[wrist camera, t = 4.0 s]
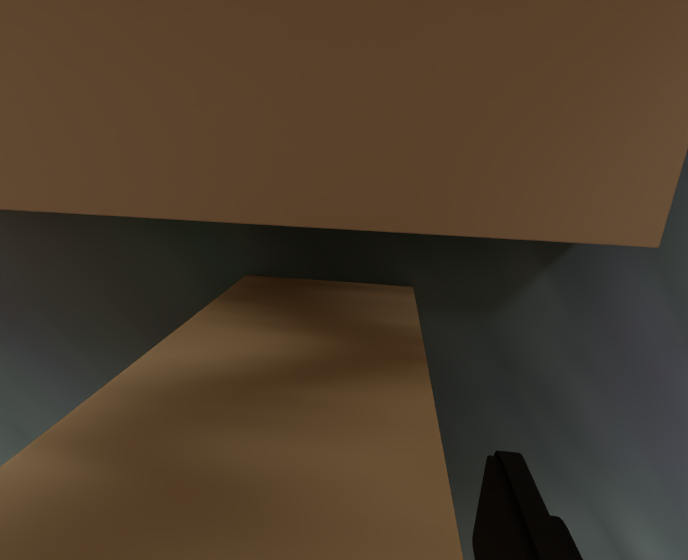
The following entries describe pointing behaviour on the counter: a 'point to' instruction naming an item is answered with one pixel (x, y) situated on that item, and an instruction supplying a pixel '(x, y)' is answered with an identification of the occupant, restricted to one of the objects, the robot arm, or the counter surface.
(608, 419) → the counter surface
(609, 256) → the counter surface
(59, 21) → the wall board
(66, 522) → the oak box
